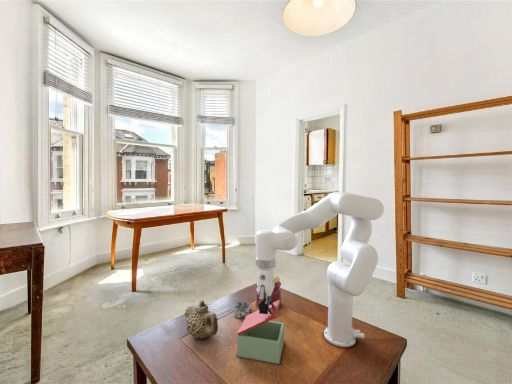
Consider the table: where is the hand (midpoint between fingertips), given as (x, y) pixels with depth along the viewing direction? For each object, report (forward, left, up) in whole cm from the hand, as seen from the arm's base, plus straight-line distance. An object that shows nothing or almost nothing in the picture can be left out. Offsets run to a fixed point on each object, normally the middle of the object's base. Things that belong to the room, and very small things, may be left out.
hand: (265, 308), depth 94 cm
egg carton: (+16, -23, -16) cm, 33 cm away
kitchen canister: (+5, -34, -16) cm, 38 cm away
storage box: (+1, 0, -16) cm, 16 cm away
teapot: (+27, -1, -16) cm, 32 cm away
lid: (+2, 0, -4) cm, 4 cm away
